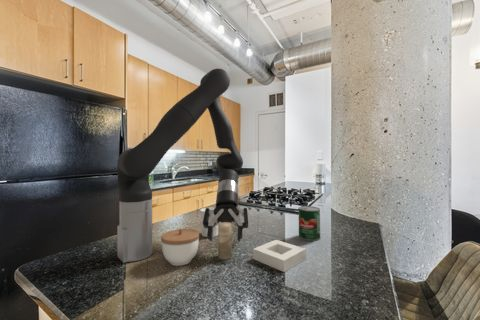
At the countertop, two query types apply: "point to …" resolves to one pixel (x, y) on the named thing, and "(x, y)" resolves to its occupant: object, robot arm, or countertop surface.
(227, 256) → the birch peg
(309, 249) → the countertop surface
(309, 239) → the canned tomato
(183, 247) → the lidded jar
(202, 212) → the white cup
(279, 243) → the beige socket block
